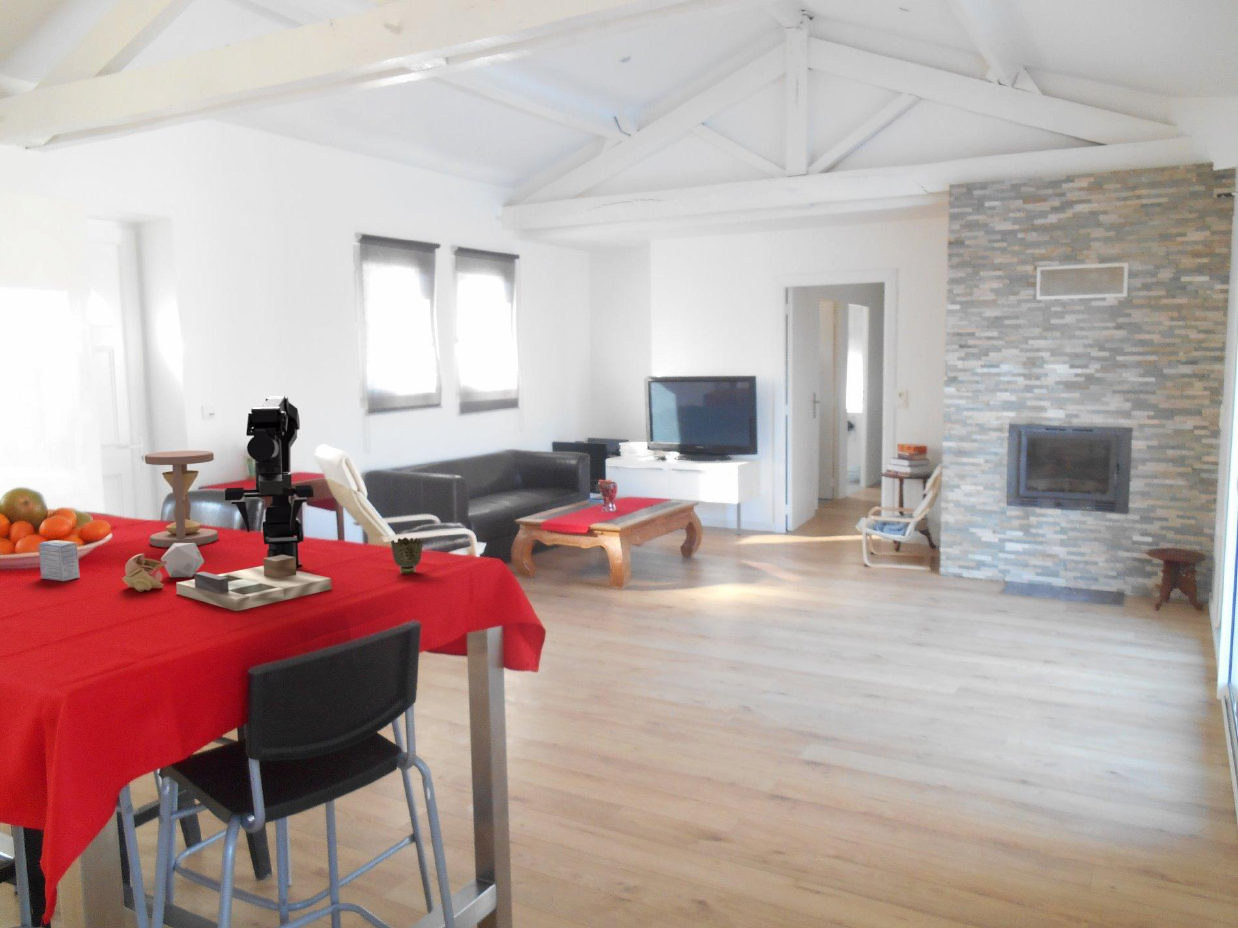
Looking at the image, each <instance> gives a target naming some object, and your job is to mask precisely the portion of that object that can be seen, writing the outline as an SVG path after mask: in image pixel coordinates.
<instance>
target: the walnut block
mask: <svg viewBox="0 0 1238 928" xmlns="http://www.w3.org/2000/svg"><path fill="white" fill-rule="evenodd" d="M262 560H263V566H264V576H267V577H272V578H276V579H278V578H283V577H287V576H292V575H296V571H297V567H296V557H291V556H287V555H279V556H273V557H268V556H267V557H263V558H262Z"/></svg>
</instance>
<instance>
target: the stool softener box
mask: <svg viewBox="0 0 1238 928" xmlns="http://www.w3.org/2000/svg"><path fill="white" fill-rule="evenodd" d="M38 555H39V567H40V578H41V579H43V580H44V579H45V580H52V581H60V582H67V581H71V580H75V579H79V578H80V577H81V574H80V565H79V556H78V555H79V553H78V543H77V542H76V541H67V540H58V539H57V540H55V539H54V540H48V541H43V542H40V543H38Z"/></svg>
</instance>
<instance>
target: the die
mask: <svg viewBox="0 0 1238 928" xmlns="http://www.w3.org/2000/svg"><path fill="white" fill-rule="evenodd" d="M160 561H161V562H162V561H166V562H167V564H165V565H164V566H163V567H164V568H165V570H166V572H167V574H168V575H169V577H170V578H192V577H194V573H197V572H198V570H199V569H200V568H201V566H203V564H204V563H205V559H204V558H203V556H202V553H201V552H200V550H199V548H198V545H197V546H196V544H195V543H174V544H173V545H172V546H171V547H168V550H166V552H164V554H163V555H162V557H161V558H160Z"/></svg>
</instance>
